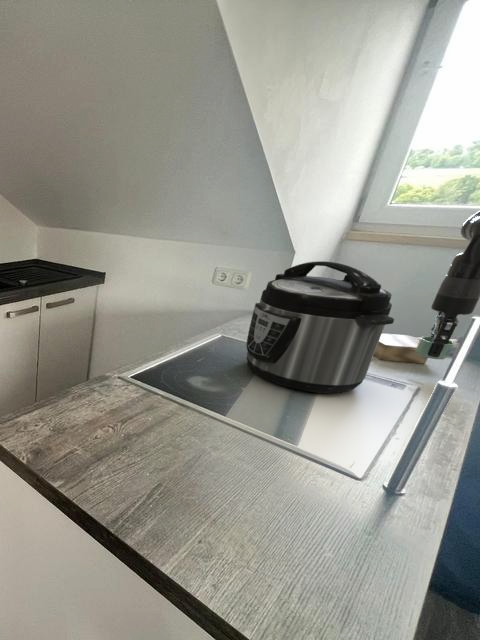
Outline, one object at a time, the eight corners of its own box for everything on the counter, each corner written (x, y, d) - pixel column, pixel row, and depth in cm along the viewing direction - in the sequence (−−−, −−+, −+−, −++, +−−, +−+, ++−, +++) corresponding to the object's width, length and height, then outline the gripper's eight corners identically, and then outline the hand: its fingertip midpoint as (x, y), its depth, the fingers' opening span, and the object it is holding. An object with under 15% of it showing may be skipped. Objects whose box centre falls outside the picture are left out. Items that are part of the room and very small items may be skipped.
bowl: (443, 353, 109) (450, 339, 108) (450, 361, 104) (458, 346, 103) (412, 349, 113) (418, 335, 111) (418, 357, 108) (424, 342, 106)
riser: (404, 349, 126) (411, 335, 124) (428, 364, 116) (435, 349, 114) (359, 346, 130) (365, 332, 128) (378, 360, 119) (385, 345, 117)
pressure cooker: (236, 348, 129) (260, 251, 117) (343, 363, 118) (383, 256, 105) (241, 386, 105) (273, 269, 92) (377, 410, 93) (434, 278, 80)
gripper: (484, 301, 94) (454, 364, 101) (476, 290, 104) (449, 348, 111) (439, 297, 99) (413, 356, 106) (436, 286, 109) (412, 342, 115)
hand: (432, 352), depth 108 cm, fingers closed on bowl, 6 cm apart
